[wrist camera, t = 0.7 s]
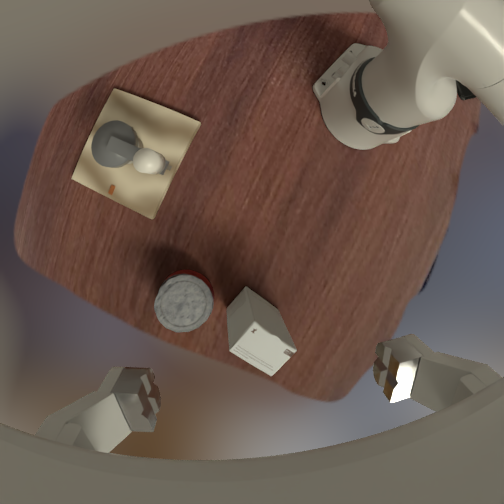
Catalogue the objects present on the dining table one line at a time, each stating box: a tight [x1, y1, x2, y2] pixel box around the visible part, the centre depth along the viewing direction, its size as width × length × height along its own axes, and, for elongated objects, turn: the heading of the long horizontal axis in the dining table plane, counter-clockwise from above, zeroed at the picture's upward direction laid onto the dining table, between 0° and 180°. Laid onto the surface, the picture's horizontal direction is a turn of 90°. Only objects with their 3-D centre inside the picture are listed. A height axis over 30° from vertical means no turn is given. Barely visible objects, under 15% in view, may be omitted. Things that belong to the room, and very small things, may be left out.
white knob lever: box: [91, 120, 169, 175], centre depth 34 cm, size 7×13×8 cm, turn 63°
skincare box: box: [227, 286, 297, 376], centre depth 45 cm, size 8×6×15 cm
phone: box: [456, 80, 476, 100], centre depth 44 cm, size 8×1×15 cm
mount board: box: [72, 88, 201, 219], centre depth 42 cm, size 18×18×7 cm
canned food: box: [154, 270, 214, 332], centre depth 48 cm, size 11×10×10 cm
